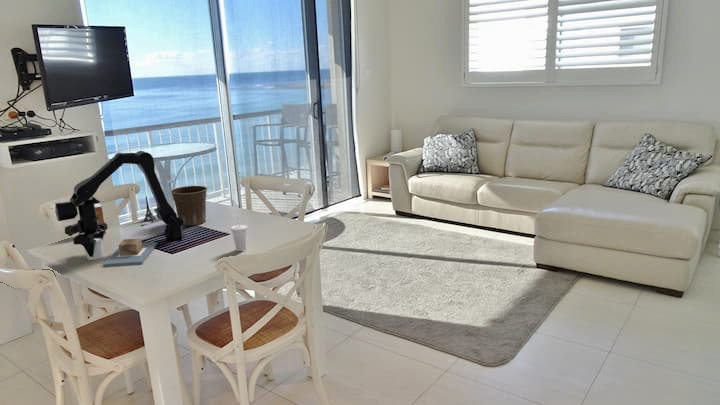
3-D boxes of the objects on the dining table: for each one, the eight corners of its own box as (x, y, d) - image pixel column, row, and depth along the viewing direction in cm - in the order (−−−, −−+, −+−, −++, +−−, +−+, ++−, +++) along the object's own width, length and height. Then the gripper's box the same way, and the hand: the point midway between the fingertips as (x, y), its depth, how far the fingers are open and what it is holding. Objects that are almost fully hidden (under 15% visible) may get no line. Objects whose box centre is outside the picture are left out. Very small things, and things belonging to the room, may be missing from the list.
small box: (86, 237, 228) (81, 209, 225) (84, 234, 233) (79, 206, 230) (106, 233, 232) (101, 206, 229) (104, 230, 238) (99, 203, 234)
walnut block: (142, 248, 209) (140, 238, 208) (137, 254, 203) (136, 244, 201) (125, 249, 208) (123, 239, 207) (120, 255, 202) (118, 245, 201)
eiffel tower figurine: (141, 227, 242) (137, 199, 238) (129, 224, 248) (125, 197, 244) (169, 219, 254) (166, 192, 250) (157, 216, 259) (153, 190, 256)
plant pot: (201, 215, 257) (197, 183, 252) (216, 221, 245) (213, 188, 241) (169, 222, 246) (164, 189, 242) (184, 230, 235) (179, 195, 230)
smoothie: (252, 248, 209) (249, 214, 205) (244, 253, 203) (240, 219, 199) (238, 246, 211) (235, 213, 207) (229, 252, 205) (226, 218, 202)
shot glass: (89, 254, 207) (86, 238, 205) (107, 253, 208) (104, 237, 206) (82, 261, 201) (79, 244, 199) (100, 259, 201) (97, 243, 199)
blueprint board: (157, 244, 217) (157, 241, 217) (142, 264, 196) (141, 261, 196) (122, 246, 215) (122, 244, 215) (103, 266, 194) (103, 263, 194)
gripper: (75, 210, 208) (82, 246, 212) (54, 224, 190) (62, 264, 194) (104, 208, 209) (111, 245, 213) (86, 222, 191) (93, 261, 195)
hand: (94, 253), depth 204 cm, fingers closed on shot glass, 6 cm apart
